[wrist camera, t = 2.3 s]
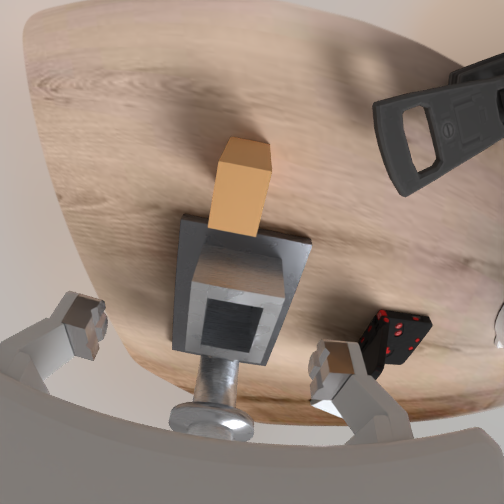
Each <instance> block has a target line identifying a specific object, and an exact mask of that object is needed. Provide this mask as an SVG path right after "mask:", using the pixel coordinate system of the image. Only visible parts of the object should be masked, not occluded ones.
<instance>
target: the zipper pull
mask: <svg viewBox="0 0 504 504" xmlns="http://www.w3.org/2000/svg"><path fill="white" fill-rule="evenodd" d="M419 105H420V106H422V107H424V111H425V114H426V118H427V121H428V125H429V129H430V133H431V137H432V141H433V145H434V150H435V154H436V160H435V162H434V163H433V165H432V166H430V167H428V168H426V169H424V170H422V171H419V172H417V170H416V168H415V166H414V164H413V162H412V158H411V155H410V151H409V147H408V143H407V140H406V136H405V133H404V129H403V117H402V114H403V112H404V111H405V110H408V109H411V108H413V107H416V106H419ZM372 109H373V120H374V129H375V134H376V138H377V142H378V146H379V150H380V153H381V156H382V159H383V163H384V165H385V168H386V170H387V173H388V175H389V178H390V180H391V181H392V183H393V184H394V186H395V188H396V190H397V191H398V193H399V194H400V195H401V196H403V197H407V196H409V195H411V194H412V193H414V192H416V191H417V190H419V189H421V188H423V187H424V186H426V185H428V184H429V183H431V182H433V181H435V180H436V179H438V178H439V177H441V176H442V175H444V174H445V173H447V172H449V171H450V170H452V169H454V168H455V167H457V166H459V165H460V164H462V163H464V162H465V161H467V160H469V159H470V158H472V157H473V156H475V155H477V154H478V153H480V152H482V151H483V150H485V149H486V148H488V147H490V146H491V145H493V144H494V143H496V142H498V141H499V140H501V139H502V138H504V53H501V54H498V55H495V56H493V57H490V58H487V59H484V60H482V61H479V62H476V63H474V64H471V65H469V66H466V67H464V68H462V69H459V70H457V71H454V72H452V73H450V75H449V83H448V85H447V86H442V87H437V88H432V89H427V90H423V91H417V92H412V93H407V94H403V95H399V96H395V97H392V98H388V99H384V100H380V101H377V102H374V103H373V105H372Z"/></svg>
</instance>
